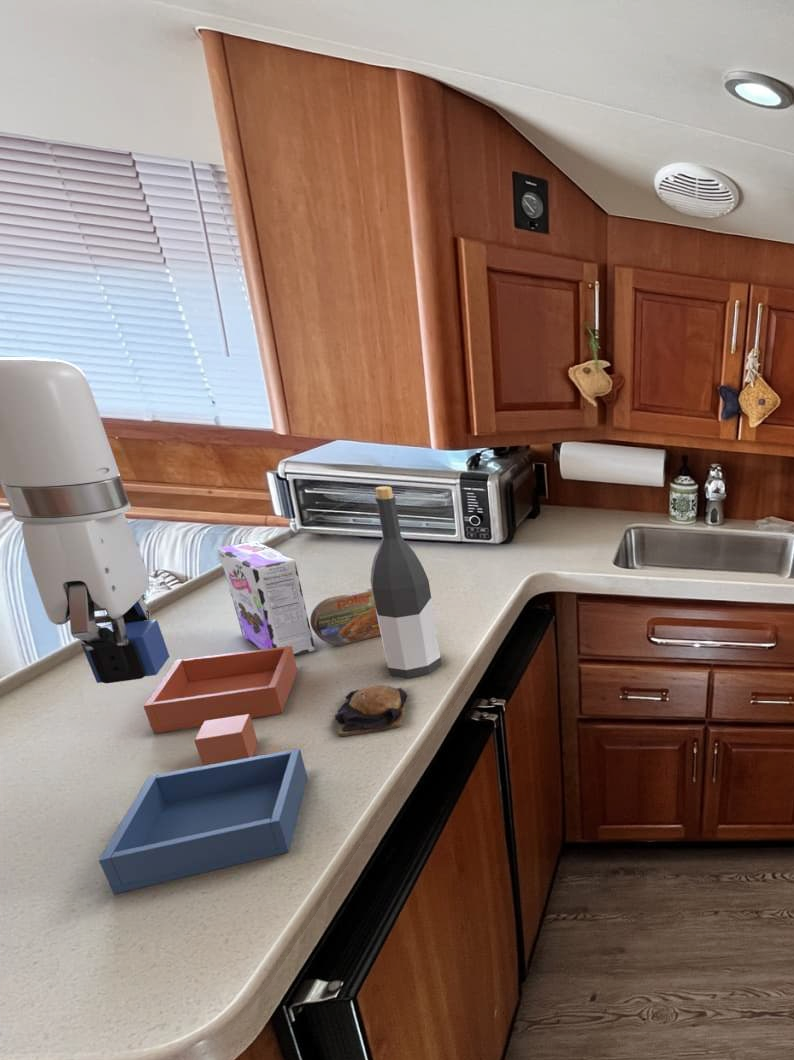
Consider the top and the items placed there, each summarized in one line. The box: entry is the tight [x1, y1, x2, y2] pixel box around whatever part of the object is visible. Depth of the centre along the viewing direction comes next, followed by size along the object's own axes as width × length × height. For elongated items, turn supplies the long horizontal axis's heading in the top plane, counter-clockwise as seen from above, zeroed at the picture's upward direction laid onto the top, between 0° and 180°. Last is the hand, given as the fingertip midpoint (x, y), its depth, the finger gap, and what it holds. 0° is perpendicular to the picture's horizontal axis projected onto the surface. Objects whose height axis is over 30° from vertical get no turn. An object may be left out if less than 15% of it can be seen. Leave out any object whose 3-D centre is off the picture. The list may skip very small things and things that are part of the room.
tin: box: [310, 587, 381, 646], centre depth 112 cm, size 15×3×8 cm, turn 141°
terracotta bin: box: [143, 646, 299, 734], centre depth 92 cm, size 14×14×4 cm
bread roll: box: [334, 684, 408, 737], centre depth 91 cm, size 11×8×4 cm
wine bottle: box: [370, 485, 442, 679], centre depth 99 cm, size 8×8×30 cm
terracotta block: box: [193, 714, 259, 766], centre depth 80 cm, size 4×4×4 cm
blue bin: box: [98, 748, 308, 895], centre depth 69 cm, size 14×14×4 cm
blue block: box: [81, 619, 170, 684], centre depth 66 cm, size 4×4×4 cm
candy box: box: [217, 540, 316, 657], centre depth 105 cm, size 14×6×16 cm, turn 57°
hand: (133, 666), depth 66 cm, fingers closed on blue block, 4 cm apart
